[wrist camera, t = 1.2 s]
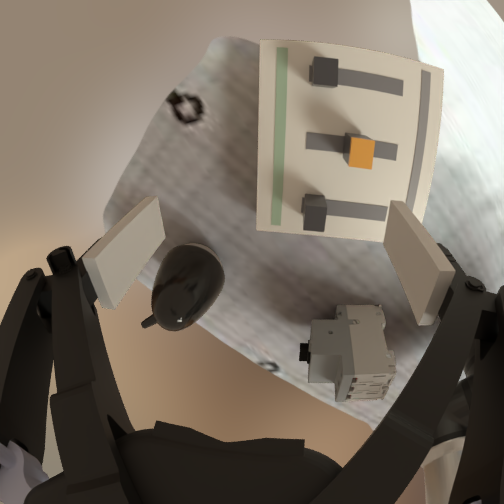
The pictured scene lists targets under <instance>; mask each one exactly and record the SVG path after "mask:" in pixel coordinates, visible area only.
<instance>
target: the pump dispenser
mask: <svg viewBox="0 0 504 504" xmlns="http://www.w3.org/2000/svg"><path fill="white" fill-rule="evenodd" d="M224 282H225V275H224V271H223V267H222V263H221V261H220V259H219V257H218V256H217V255H216V254H215V253H214V252H213V251H212V250H211V249H210V248H208V247H206V246H204V245H201V244H197V243H188V244H184V245H181V246H177V247H175V248H173V249H172V250H170V251H169V252H168V253H167V255H166V256H165V258H164V259H163V261H162V263H161V265H160V267H159V270H158V272H157V275H156V278H155V281H154V285H153V290H152V299H151V300H152V301H151V305H152V306H151V307H152V312H153V314H152V315H151V316H150V317H148V318H147V319H145V320H144V321H143V322H142V323H141V325H142V327H143V328H147V327H150V326H152V325H154V324H156V323H158V324H159V325H160V326H161V327H162V328H164V329H166V330H169V331H179V330H183V329H185V328H187V327H189V326H191V325H192V324H193V323H195V322H196V321H197V320H199V319H200V318H201V317H202V316H203V315H204V314H205V313H206V312H207V311H208V309H209V308H210V307H211V306H212V305H213V303H214V302H215V300H216V299H217V297H218V296H219V294H220V293H221V291H222V288H223V286H224Z"/></svg>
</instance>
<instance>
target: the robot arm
mask: <svg viewBox="0 0 504 504" xmlns="http://www.w3.org/2000/svg"><path fill="white" fill-rule="evenodd" d="M165 238H166V237H165V232H164V227H163V222H162V217H161V212H160V207H159V201H158V196H152V197H146V198H144V199H143V200H142V201H141V202H140V203H139V204H138V205H136V206H135V207H134V208H133V209H132V210H131V211H130V212H129V213H127V214H126V215H125V216H124V217H123V218H122V219H121V220H120V221H119V222H118V223H117V224H115V225H114V226H113V227H112V228H111V229H110V230H109V231H108V232H107V233H106V234H105V235H104V236H103V237H102V238H100V239H98V240H97V241H96V242H95V243H94V244H93V245H92V246H91V247H90V248H89V249H88V251H86V252H85V253H84V254H83V255H82V256H81V257H80V258H79V259H78V260H77V261H76V260H75V257H74V255H73V252H72V249H71V247H69V246H63V247H60V248H57V249H55V250H54V251H52V252H51V253H50V254H49V255H48V256H47V258H46V259H47V262H48V264H49V266H50V268H51V271H52V273H53V275H50V276H45V275H44V273H43V270H42V269H41V268H34V269H30V271H27V272H26V274H24V276H23V277H22V278H21V280H20V282H19V285H18V286H17V289H16V291H15V293H14V295H13V297H12V299H11V301H10V304H9V306H8V308H7V310H6V313H5V315H4V317H3V320H2V322H1V325H0V501H1V502H3V503H4V504H394V503H395V502H396V501H397V499H398V498H399V497H400V495H401V494H402V493H403V491H404V490H405V488H406V487H407V486H408V484H409V482H410V481H411V480H412V478H413V477H414V475H415V474H416V472H417V471H418V469H419V467H423V469H424V477H425V493H426V504H504V286H501V287H500V289H499V291H498V293H497V294H494V293H490V292H486V288H485V286H484V284H483V283H482V282H481V281H479V280H478V279H476V278H474V277H471V276H466V274H465V273H464V271H463V270H462V269H461V267H460V266H459V264H458V263H457V262H456V260H455V259H454V257H452V254H451V253H450V252H449V250H448V249H447V248H445V247H444V246H443V245H441V244H440V243H436V242H435V241H434V239H433V238H432V237H431V235H430V234H429V233H428V232H427V230H426V229H425V228H424V226H423V225H422V224H421V223H420V221H419V220H418V219H417V218H416V216H415V215H414V214H413V213H412V211H411V210H410V209H409V208H408V207H407V205H406V204H405V203H404V202H403V201H396V200H391V201H390V207H389V214H388V219H387V225H386V230H385V236H384V241H383V245H384V247H385V249H386V251H387V253H388V255H389V258H390V260H391V262H392V264H393V266H394V268H395V271H396V273H397V275H398V277H399V280H400V282H401V284H402V287H403V289H404V291H405V294H406V296H407V298H408V301H409V303H410V306H411V308H412V311H413V313H414V316H415V319H416V321H417V324H418V326H421V325H433V324H434V322H435V320H436V318H437V315H439V317H440V319H441V323H440V325H439V327H438V329H437V331H436V333H435V335H434V336H433V338H432V341H431V342H430V344H429V346H428V348H427V350H426V352H425V354H424V355H423V357H422V359H421V361H420V363H419V364H418V366H417V368H416V369H415V371H414V373H413V374H412V376H411V378H410V379H409V381H408V383H407V384H406V386H405V387H404V389H403V391H402V392H401V394H400V395H399V397H398V398H397V400H396V401H395V403H394V404H393V405H392V407H391V408H390V410H389V411H388V413H387V414H386V415H385V417H384V418H383V420H382V421H381V422H380V424H379V425H378V426H377V428H376V429H375V430H374V432H373V433H372V434H371V435H370V437H369V438H368V439H367V440H366V442H365V443H364V444H363V445H362V447H361V448H360V449H359V450H358V451H357V453H356V454H355V455H354V456H353V457H352V458H351V459H350V460H349V462H348V463H347V464H346V465H345V466H344V467H343V468H342V467H341V466H340V465H339V464H338V463H336V462H335V461H334V460H332V459H330V458H329V457H328V456H326V455H324V454H322V453H319V452H317V451H314V450H311V449H308V448H304V442H305V440H303V439H302V440H301V439H277V438H262V439H254V440H246V441H238V442H223V441H220V440H217V439H215V438H212V437H210V436H207V435H205V434H203V433H200V432H198V431H196V430H194V429H191V428H188V427H183V426H179V425H174V424H169V423H165V422H161V421H156V423H155V426H154V429H144V430H139V431H135V429H134V428H133V426H132V424H131V422H130V420H129V417H128V415H127V412H126V410H125V407H124V404H123V402H122V399H121V396H120V393H119V390H118V387H117V384H116V381H115V378H114V375H113V371H112V368H111V365H110V362H109V358H108V355H107V351H106V347H105V343H104V340H103V335H102V332H101V327H100V323H99V319H98V314H97V309H96V307H95V305H94V302H95V301H96V299H97V298H98V300H99V302H100V304H101V306H102V308H107V309H114V310H115V309H116V307H117V306H118V304H119V303H120V301H121V300H122V298H123V297H124V295H125V294H126V292H127V291H128V289H129V288H130V286H131V285H132V283H133V282H134V281H135V279H136V278H137V276H138V275H139V273H140V272H141V271H142V269H143V268H144V266H145V265H146V264H147V262H148V261H149V259H150V258H151V257H152V255H153V254H154V253H155V251H156V250H157V249H158V247H159V246H160V244H161V243H162V242H163V240H164V239H165ZM53 360H54V368H55V378H56V386H57V393H56V394H53V395H51V397H50V408H51V414H52V421H53V426H54V432H55V436H56V441H57V446H58V450H59V455H60V459H61V463H62V467H63V470H64V471H63V472H61V473H60V474H58V475H56V476H54V477H52V478H50V479H49V477H48V475H47V474H46V473H45V472H43V470H42V463H43V456H44V450H45V435H46V434H45V433H46V417H47V405H48V395H49V387H50V379H51V372H52V366H53ZM463 370H464V372H465V374H466V377H467V378H465V379H463V380H461V381H459V379H460V376H461V374H462V371H463ZM458 381H459V382H458Z"/></svg>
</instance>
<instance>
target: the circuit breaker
mask: <svg viewBox="0 0 504 504" xmlns="http://www.w3.org/2000/svg"><path fill="white" fill-rule="evenodd" d="M385 325H386V320H385V317H384V313H383V311H382V309H381V305H379V306H374V305H337V307H336V314H335V320H312V323H311V335H310V340H308V343H300V355H299V361H307V364H309V368H308V383H335V401H336V402H350V401H370V400H377V399H382V400H383V399H384V397H385V395H386V393H387V391H388V389H389V386H390V385H391V383H392V381H393V379H394V377H395V375H396V373H397V371H396V367H395V366H396V360H395V355H394V351H388V349H387V345H386V341H385V337H384V332H383V331H384V328H385Z"/></svg>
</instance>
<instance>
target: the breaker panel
mask: <svg viewBox="0 0 504 504" xmlns="http://www.w3.org/2000/svg"><path fill="white" fill-rule="evenodd" d="M443 80H444V69H441V68H438V67H435V66H432V65H428V64H425V63H422V62H419V61H415V60H411V59H408V58H404V57H400V56H396V55H392V54H387V53H383V52H379V51H373V50H368V49H363V48H357V47H351V46H344V45H337V44H329V43H320V42H309V41H295V40H260V64H259V121H258V172H257V219H256V230H257V231H269V232H281V233H293V234H304V235H315V236H326V237H336V238H346V239H356V240H366V241H376V242H383V241H384V236H385V230H386V225H387V219H388V214H389V207H390V201H391V200H396V201H403V202H404V203H405V204H406V205H407V207H408V208H409V209H410V210H411V211H412V213H413V214H414V215H415V216H416V218H417V219H418V220H419V221H420V223H421V224H422V221H423V217H424V213H425V209H426V205H427V200H428V196H429V191H430V186H431V181H432V176H433V171H434V165H435V159H436V153H437V146H438V139H439V131H440V122H441V112H442V99H443ZM345 132H346V133H353V134H360V135H366V136H367V137H369V138H371V139H373V140H374V141H375V147H374V155H373V163H372V170H370V169H363V168H356V167H349V166H348V164H347V163H346V162H345V160H344V159H343V148H344V136H345Z"/></svg>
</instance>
